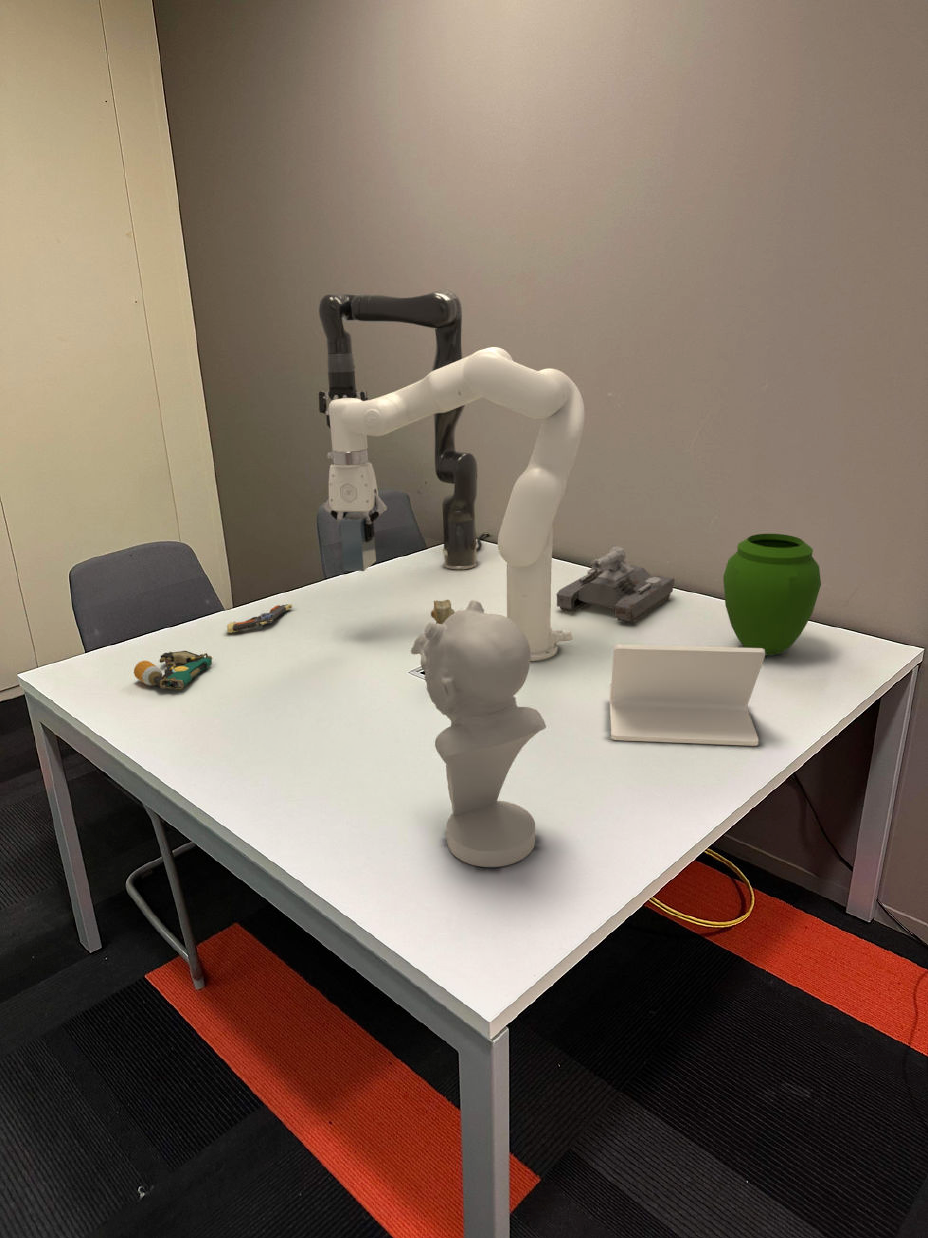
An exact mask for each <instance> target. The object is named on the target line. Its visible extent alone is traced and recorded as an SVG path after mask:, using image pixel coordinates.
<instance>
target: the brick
mask: <svg viewBox="0 0 928 1238" xmlns="http://www.w3.org/2000/svg"><path fill="white" fill-rule="evenodd" d="M339 522H340V527H339V534H340V533H341V536H340V542H341V543H340V544H341V553H342V564H343V565H342V566H343V571H351V572H352V571H353V572H365V571H366V570H367V569H368V568H369V567H371V566H372V565H373V564H374V563H376V561H377V556H376V544H375V536H374V537H373V539H372V540H371V541H369V542H366V541H365V531H364V525H365V524H366V521H365V518H364V515H363V512H349V513H348V514H347V516H345V517H344V518H342V519H341V520H339Z"/></svg>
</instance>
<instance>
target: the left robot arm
mask: <svg viewBox="0 0 928 1238" xmlns="http://www.w3.org/2000/svg"><path fill="white" fill-rule="evenodd" d="M318 316H319V320H320V323H321V327H322V330H323V333H324V337H325V341H326V355H327V356H326V357H327V358H326V365H327V366H326V367H327V378H328V379H327V381H328V388H329V389H328V391H326V390H321V391H319V392H318V410H319V413H320V414H323V415H324V414H325V418H326V426H327V427H328V428H329V429H331V427H330V416H329V406H328V407H327V400H328V398H329V400H331V401H333V400H336V399H343V398H356V399H357V397H358V399H360V400H362V401H367V400H369V399H368V391H367V390H362V391H357V388H356V387H357V385H356V370H355V369H356V367H355V366H356V365H355V359H354V354H353V342H352V341H353V340H352V335H351V333H350V332H349V331H348V330H346V329H345V327H344V326H345V325H344V323H343V322H344V321H345V322H352V321H357V322H362V323H401V324H402V323H403V324H410V325H414V326H415V325H416V326H421V327H424V328H429V329H433V330H434V334H435V335H434V336H435V353H434V358H433V363H432V367H431V368H432V369H431V372H432V371H434V370H437V369H439V368H442V367H444V366H446V365H449V364H451V363H454V362H456V361H458V360H461V359H463V350H462V323H463V308H462V303H461V300H460V298H459V297H458V295H457V294H456V293H455V292H453V291H452V290H449V289H442V290H436V291H431V292H429V293H427V294H422V295H417V296H411V297H396V296H392V295H385V294H350V293H349V294H348V293H347V294H346V293H329V294H328V293H327V294H325V295H323V296H322V297H321V299H320V301H319V304H318ZM465 406H466V404H465V405H463V406H460V407H458V408H455V409H453V410H451V411H448V412H445V413H436V414H433V429H434V469H435V470H434V471H435V475H436V477H437V479H438V481H440V482H442V483H445V484H450V485H453V493H452V494H450V495H447V496H444V497H443V498H442V500H441V501H442V503H441V505H442V507H441V508H442V527H443V528H442V529H443V532H442V533H443V548H442V554H443V558H444V561H443V564H444V566H443V567H445V568H447V569H449V570H457V571H459V570H460V571H461V570H469V569H473V568H475V567H476V566H477V562H478V561H477V559H478V557H477V554H478V552H479V550H480V549H481V547H482V546H483V545H482V542H481V539H482V538H483V537H484V536H486V537H490V533H488V534H486V535H485V534H484V533H485V532H482V534H480V536H478V537H477V532H476V509H475V507H476V506H475V505H476V499H477V495H478V463H477V459H476V457H475V455H474V454H472V453H471V452H467V451H459V450H456V441H455V439H456V438H455V437H456V429H457V427H458V424H459V421H460V419H461V417H462V415H463V412H464V409H465ZM477 544H478V546H477Z"/></svg>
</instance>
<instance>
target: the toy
mask: <svg viewBox="0 0 928 1238" xmlns="http://www.w3.org/2000/svg"><path fill="white" fill-rule="evenodd" d="M626 557H627V556H626V551H625V549H624V548H622V547H621V546H614V547H612V548H611V549H610V550H609V552H608V553H607V554H605V555H604V556H601V557H599V558H598V559H597V557H596V558H594V559H593V560H592V561H590V562H589V563H590V564H591V565H592V567H591V568H590V569H589V570H587V573H586V575H584V576H582V577H580V578H578V579H577V580H575V581H573V582H570V583H569V584H567V585H566V586H563V587H562V588H560V589H559V590H558V591H557V592H556V607H558V608H559V609H560V610H562V611H566V612H572V613H575V612H577V611H579V610H581V609H582V608H585V607H586V606H588V605H592V606H598V607H602V608H603V607H604V608H609V609H613V610H614V618H615V619H617V620H618V621H621V622H626V623H631V624H634V623H635V622H637V621H638V620H640V619H641V618H642V617H644V616H645V615H647V614H648V613H650V612H651V611H652V610H654V609H655V608H657V607H659V606H660V605H661V604H663V603H664V602H666V601H667V600H669V598H670V596H671V594H672V593H673V591H674V585H675V580H676V579H675V578H673V577H668V576H663V575H656V576H655V577H654V576H651V574H650V573H649V572H648V571H647V570H646V568H644V567H641V566H635V565H629V564H628V563H627V562H626V561H625V559H626Z"/></svg>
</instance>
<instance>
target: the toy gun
mask: <svg viewBox="0 0 928 1238" xmlns="http://www.w3.org/2000/svg"><path fill="white" fill-rule="evenodd" d="M292 608H293V604H292V603H286V604H281V605H280V604H278V605H275V606H274V607H272V608H270V610H269V612H263V613H261V614H260V615H259V616H258V615H257V616H252V617H251V618H248V619H247V620H245V621H239V622H236V621H232V622H230V623H228V624H227V625H226V628H227V632H228V633H229V634H232V633H236V632H239V631H244V630H248V629H253V628H255V627H258V626H263V625H264V626H265V625H268V624H272V623H273V622H274V621H275V620H276V619H277V618H278V617H279V616H281V615H282V614H284V613H285V612H286V611H288V610H291V609H292Z"/></svg>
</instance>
